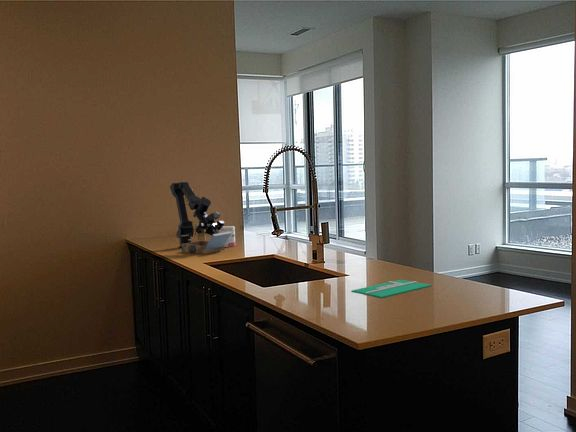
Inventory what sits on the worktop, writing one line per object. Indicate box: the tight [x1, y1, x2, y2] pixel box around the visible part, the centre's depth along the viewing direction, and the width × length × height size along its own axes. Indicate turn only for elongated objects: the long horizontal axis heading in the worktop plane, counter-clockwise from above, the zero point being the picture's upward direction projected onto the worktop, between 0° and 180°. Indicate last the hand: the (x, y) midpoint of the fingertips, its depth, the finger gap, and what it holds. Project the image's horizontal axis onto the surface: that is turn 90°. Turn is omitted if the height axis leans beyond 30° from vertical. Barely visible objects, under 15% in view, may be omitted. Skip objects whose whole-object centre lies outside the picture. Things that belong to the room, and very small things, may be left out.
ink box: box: [218, 225, 236, 248], centre depth 349 cm, size 9×5×12 cm, turn 84°
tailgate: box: [206, 232, 231, 250], centre depth 326 cm, size 1×14×10 cm
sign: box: [351, 279, 432, 299], centre depth 217 cm, size 27×1×15 cm
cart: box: [180, 240, 225, 255], centre depth 333 cm, size 18×19×4 cm
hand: (218, 237), depth 325 cm, fingers closed, pressing on tailgate
